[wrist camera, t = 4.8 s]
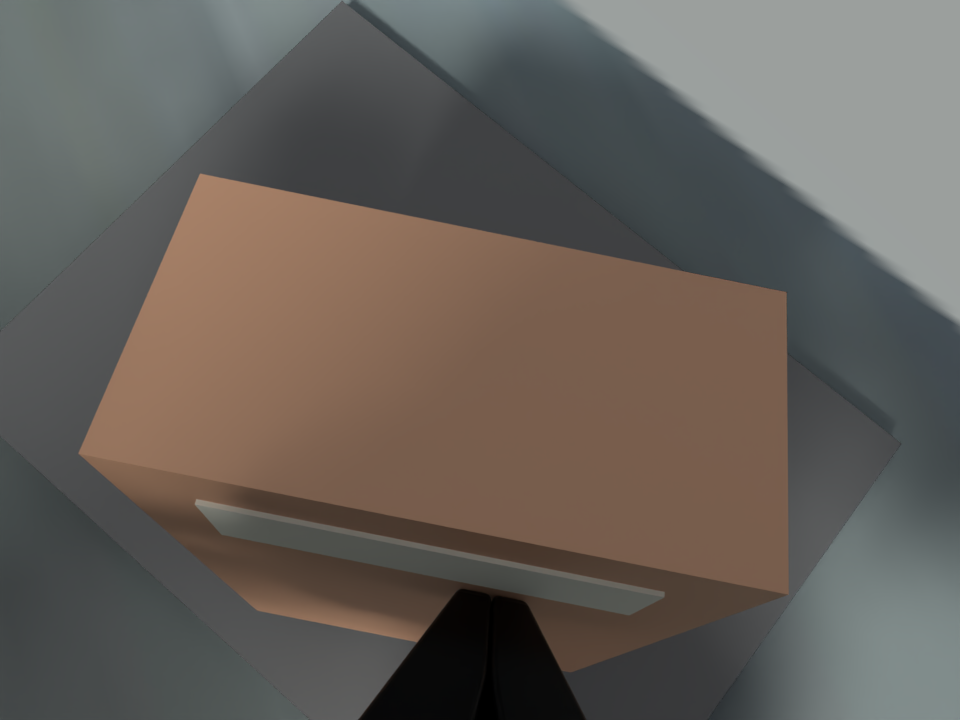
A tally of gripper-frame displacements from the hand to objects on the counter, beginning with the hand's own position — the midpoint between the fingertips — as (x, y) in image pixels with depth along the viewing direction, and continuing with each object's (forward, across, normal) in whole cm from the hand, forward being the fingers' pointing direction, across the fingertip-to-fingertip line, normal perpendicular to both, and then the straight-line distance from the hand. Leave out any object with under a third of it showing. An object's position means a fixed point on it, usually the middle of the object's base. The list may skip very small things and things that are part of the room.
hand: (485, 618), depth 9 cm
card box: (+4, -1, -4) cm, 6 cm away
